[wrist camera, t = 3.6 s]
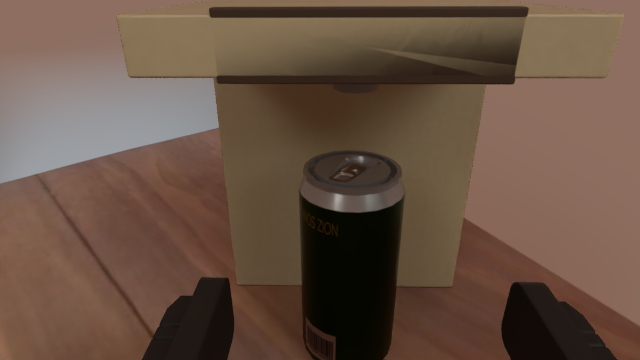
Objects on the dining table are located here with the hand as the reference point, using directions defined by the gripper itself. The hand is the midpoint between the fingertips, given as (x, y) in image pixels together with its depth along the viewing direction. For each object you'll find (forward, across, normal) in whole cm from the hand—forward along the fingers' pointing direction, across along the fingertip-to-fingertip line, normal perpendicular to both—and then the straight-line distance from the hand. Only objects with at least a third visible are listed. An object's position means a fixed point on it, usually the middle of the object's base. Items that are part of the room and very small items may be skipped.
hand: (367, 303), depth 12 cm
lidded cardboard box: (+15, 0, +12) cm, 19 cm away
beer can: (+10, 0, +12) cm, 16 cm away
